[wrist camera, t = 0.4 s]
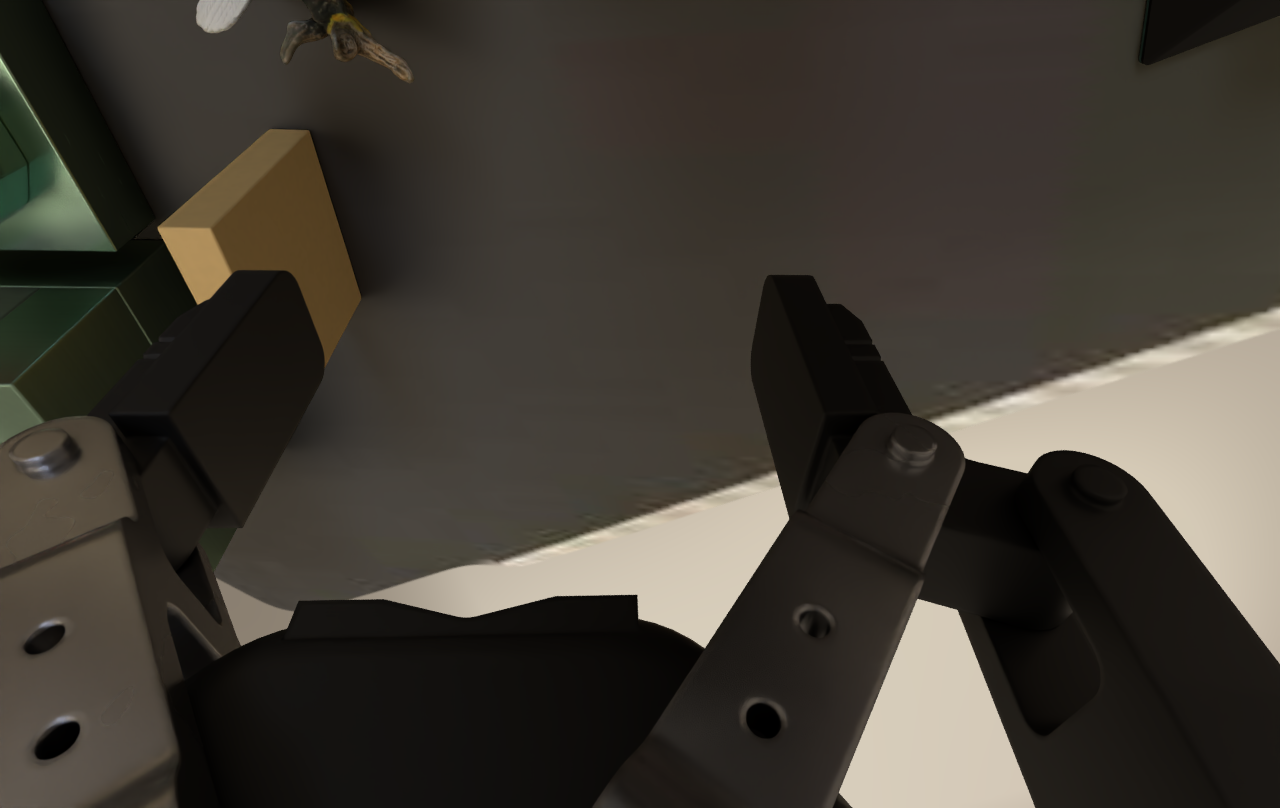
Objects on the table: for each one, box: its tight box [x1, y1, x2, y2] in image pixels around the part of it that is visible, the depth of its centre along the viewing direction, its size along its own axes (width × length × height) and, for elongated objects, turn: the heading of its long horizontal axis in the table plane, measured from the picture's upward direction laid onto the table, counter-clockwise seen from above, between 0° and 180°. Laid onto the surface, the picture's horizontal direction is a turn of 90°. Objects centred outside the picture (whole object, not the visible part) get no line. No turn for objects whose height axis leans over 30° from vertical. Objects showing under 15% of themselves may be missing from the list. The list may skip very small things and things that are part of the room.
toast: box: [158, 129, 361, 366], centre depth 25 cm, size 8×2×8 cm, turn 178°
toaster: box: [0, 240, 237, 572], centre depth 29 cm, size 14×9×10 cm, turn 178°
